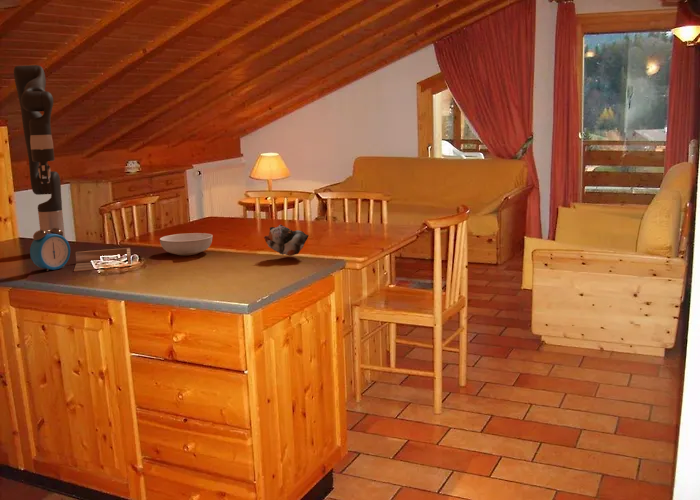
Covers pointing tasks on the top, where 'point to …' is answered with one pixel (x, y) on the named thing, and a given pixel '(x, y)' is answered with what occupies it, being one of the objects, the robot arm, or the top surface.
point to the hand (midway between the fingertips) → (46, 193)
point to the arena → (97, 257)
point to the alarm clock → (49, 249)
